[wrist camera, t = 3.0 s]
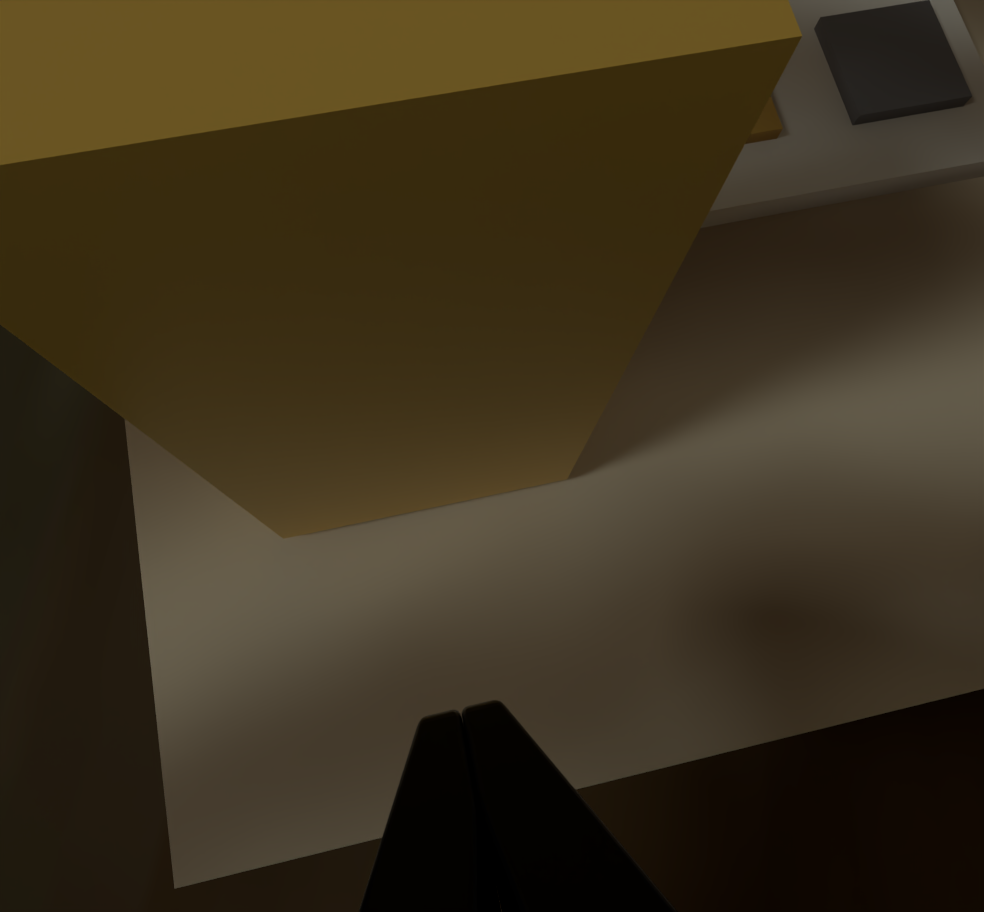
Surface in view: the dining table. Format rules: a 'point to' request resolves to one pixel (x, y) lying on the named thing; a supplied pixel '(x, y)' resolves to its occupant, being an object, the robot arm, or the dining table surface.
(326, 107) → the large amber box
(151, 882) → the dining table surface
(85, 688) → the dining table surface
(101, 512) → the dining table surface
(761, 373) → the key board
